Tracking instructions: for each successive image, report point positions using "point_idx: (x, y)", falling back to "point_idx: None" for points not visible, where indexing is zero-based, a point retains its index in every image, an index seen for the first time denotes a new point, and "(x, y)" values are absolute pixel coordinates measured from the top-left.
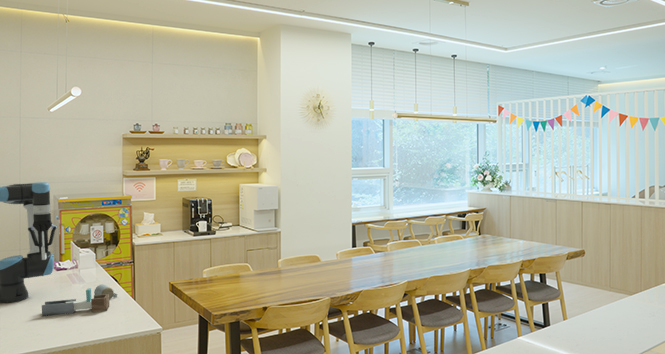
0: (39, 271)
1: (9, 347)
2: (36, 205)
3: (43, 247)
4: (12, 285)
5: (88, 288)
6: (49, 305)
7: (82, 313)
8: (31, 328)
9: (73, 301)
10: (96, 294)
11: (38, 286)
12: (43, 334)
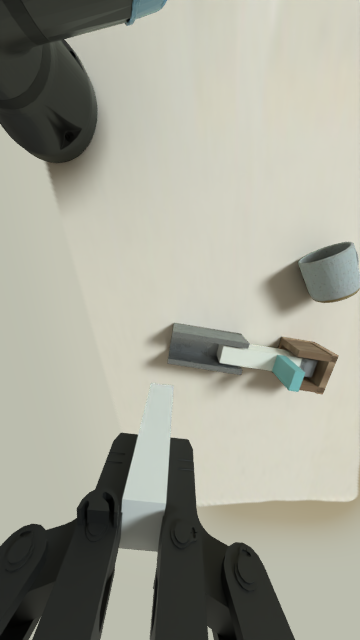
0: (103, 19)
1: None
2: None
3: (145, 541)
4: (20, 107)
5: (298, 372)
6: (185, 365)
7: (251, 369)
8: None
9: (241, 349)
10: (305, 276)
11: None
12: None
